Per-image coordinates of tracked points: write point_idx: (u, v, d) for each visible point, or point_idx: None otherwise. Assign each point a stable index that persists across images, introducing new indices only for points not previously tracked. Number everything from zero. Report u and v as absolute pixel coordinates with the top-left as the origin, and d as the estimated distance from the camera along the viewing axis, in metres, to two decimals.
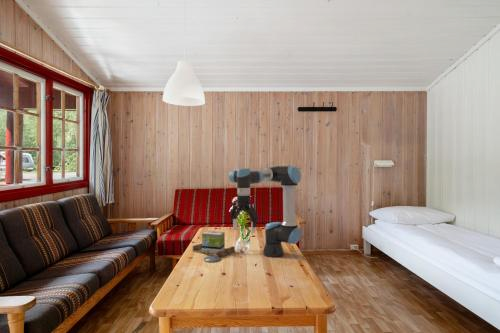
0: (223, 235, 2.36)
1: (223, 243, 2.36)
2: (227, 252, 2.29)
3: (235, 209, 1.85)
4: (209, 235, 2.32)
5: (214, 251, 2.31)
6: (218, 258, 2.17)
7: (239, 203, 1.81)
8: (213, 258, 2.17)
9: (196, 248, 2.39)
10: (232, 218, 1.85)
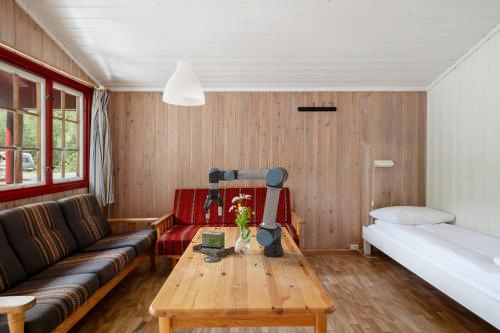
0: (223, 235, 2.36)
1: (223, 243, 2.36)
2: (227, 252, 2.29)
3: (220, 199, 2.38)
4: (209, 235, 2.32)
5: (214, 251, 2.31)
6: (218, 258, 2.17)
7: None
8: (213, 258, 2.17)
9: (196, 248, 2.39)
10: None
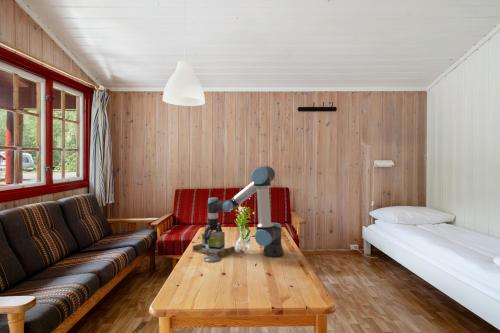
0: (223, 235, 2.36)
1: (223, 243, 2.36)
2: (227, 252, 2.29)
3: (219, 228, 2.41)
4: None
5: (214, 251, 2.31)
6: (218, 258, 2.17)
7: None
8: (213, 258, 2.17)
9: (196, 248, 2.39)
10: None
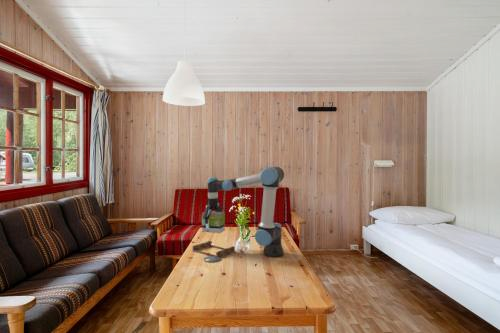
0: (223, 215, 2.35)
1: (223, 223, 2.35)
2: (227, 252, 2.29)
3: (219, 209, 2.40)
4: None
5: (214, 230, 2.30)
6: (218, 258, 2.17)
7: None
8: (213, 258, 2.17)
9: (196, 248, 2.39)
10: None
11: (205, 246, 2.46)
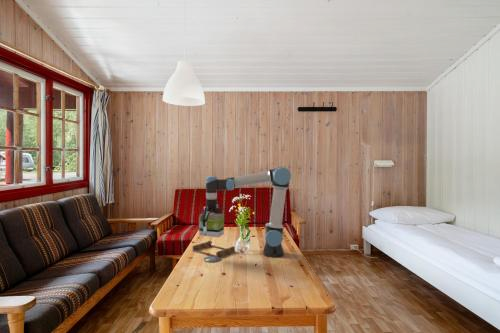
0: (222, 217, 2.16)
1: (222, 226, 2.16)
2: (227, 252, 2.29)
3: (218, 210, 2.21)
4: None
5: (212, 234, 2.12)
6: (218, 258, 2.17)
7: None
8: (213, 258, 2.17)
9: (196, 248, 2.39)
10: None
11: (205, 246, 2.46)
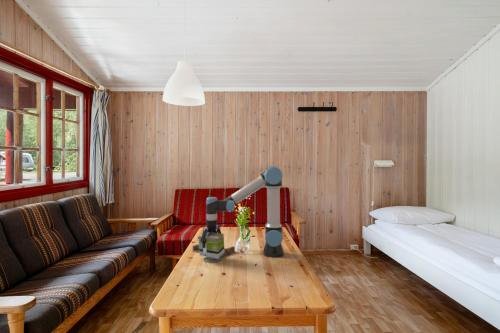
0: (222, 238, 2.15)
1: (222, 246, 2.16)
2: (227, 252, 2.29)
3: (218, 231, 2.22)
4: (206, 238, 2.11)
5: (212, 255, 2.12)
6: None
7: None
8: (213, 258, 2.17)
9: (196, 248, 2.39)
10: None
11: None
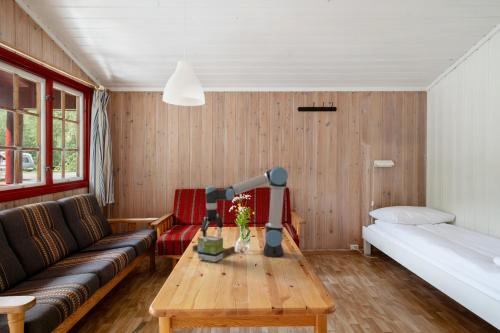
0: (220, 241, 2.15)
1: (220, 250, 2.15)
2: (227, 252, 2.29)
3: (219, 220, 2.22)
4: None
5: (209, 258, 2.11)
6: None
7: None
8: None
9: (196, 248, 2.39)
10: (219, 227, 2.24)
11: None
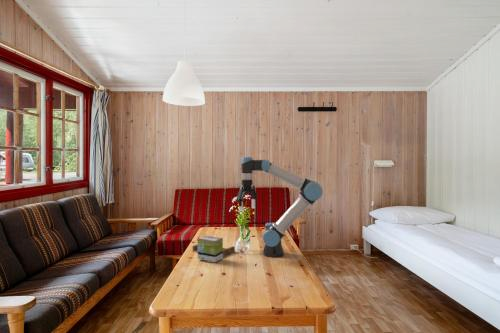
0: (220, 241, 2.15)
1: (220, 250, 2.15)
2: (227, 252, 2.29)
3: (253, 191, 2.22)
4: (204, 241, 2.12)
5: (209, 258, 2.11)
6: None
7: None
8: None
9: (196, 248, 2.39)
10: None
11: None
